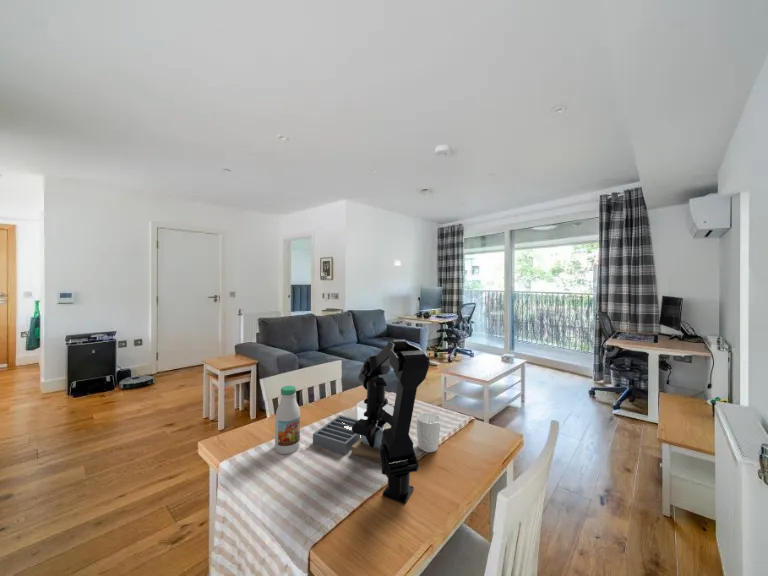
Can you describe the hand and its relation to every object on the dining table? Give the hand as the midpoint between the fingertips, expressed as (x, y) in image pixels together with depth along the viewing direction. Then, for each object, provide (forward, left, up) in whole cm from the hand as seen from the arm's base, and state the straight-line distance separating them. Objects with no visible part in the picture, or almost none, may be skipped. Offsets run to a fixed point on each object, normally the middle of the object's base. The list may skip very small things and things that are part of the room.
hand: (374, 444), depth 101 cm
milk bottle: (-11, +26, -3) cm, 28 cm away
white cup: (+12, -14, -3) cm, 19 cm away
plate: (0, 0, -3) cm, 3 cm away
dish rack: (+3, +14, -3) cm, 15 cm away
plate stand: (0, 0, -3) cm, 3 cm away
